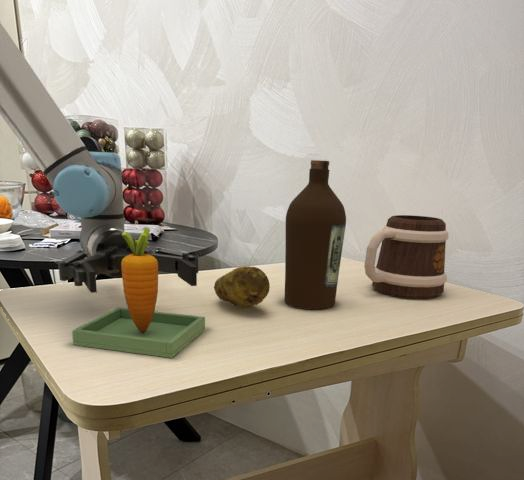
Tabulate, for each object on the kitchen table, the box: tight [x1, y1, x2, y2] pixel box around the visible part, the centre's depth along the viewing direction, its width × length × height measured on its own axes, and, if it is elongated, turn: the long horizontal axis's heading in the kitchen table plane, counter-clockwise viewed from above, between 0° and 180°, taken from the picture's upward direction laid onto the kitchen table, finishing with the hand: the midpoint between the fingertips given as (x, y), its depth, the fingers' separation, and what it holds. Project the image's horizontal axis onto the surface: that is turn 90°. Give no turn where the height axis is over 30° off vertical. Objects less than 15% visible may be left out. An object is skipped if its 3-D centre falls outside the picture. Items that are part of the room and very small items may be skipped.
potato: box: [213, 265, 271, 308], centre depth 90 cm, size 8×13×8 cm, turn 14°
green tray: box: [71, 306, 206, 359], centre depth 75 cm, size 15×13×2 cm
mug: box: [364, 214, 449, 300], centre depth 105 cm, size 20×15×15 cm
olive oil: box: [284, 159, 347, 311], centre depth 92 cm, size 11×11×25 cm
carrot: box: [121, 226, 159, 333], centre depth 73 cm, size 5×5×15 cm
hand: (145, 279), depth 70 cm, fingers open, 13 cm apart
